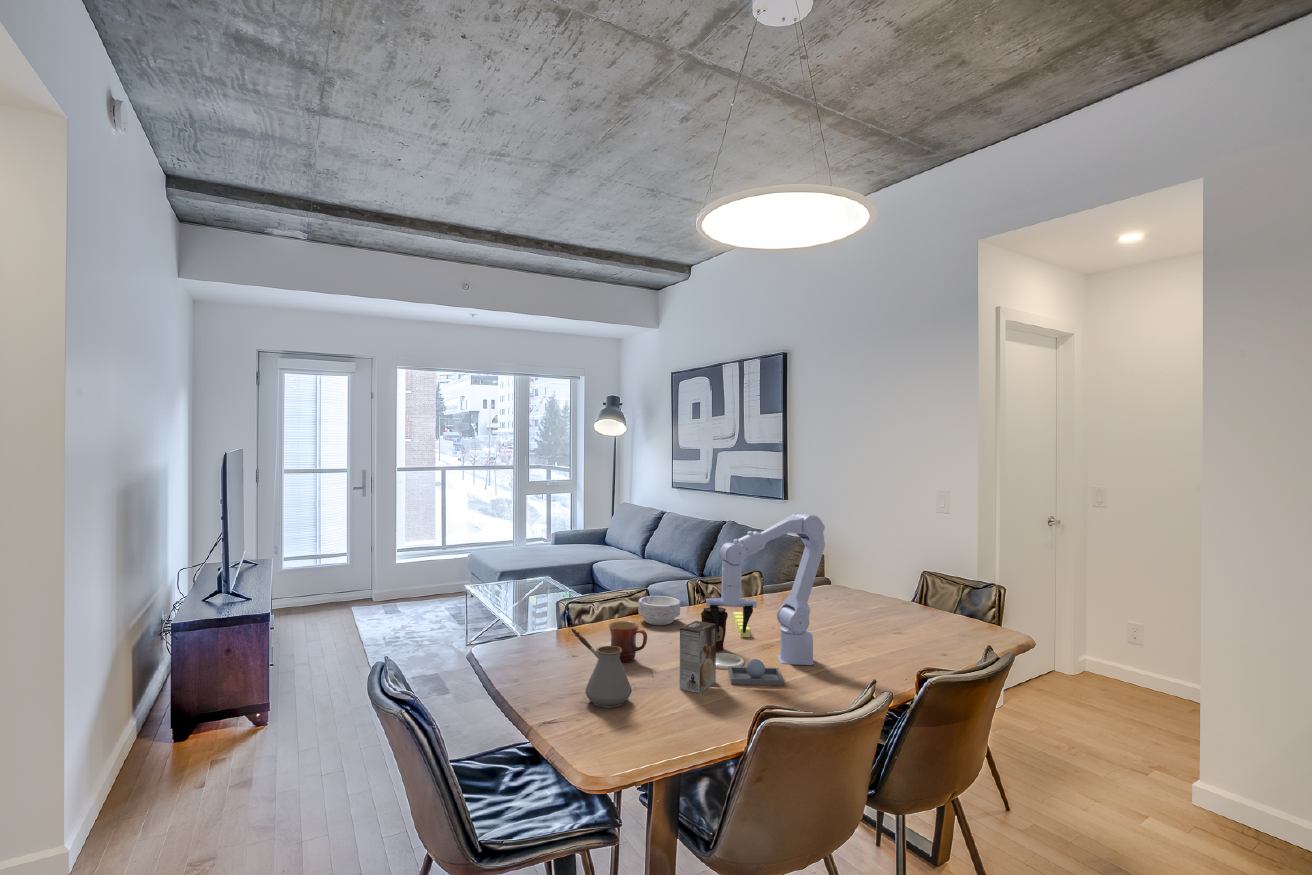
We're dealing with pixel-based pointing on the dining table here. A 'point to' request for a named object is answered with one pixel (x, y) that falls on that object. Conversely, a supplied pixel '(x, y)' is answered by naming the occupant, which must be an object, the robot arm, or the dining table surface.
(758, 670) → the ball
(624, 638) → the mug
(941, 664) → the dining table surface
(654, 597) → the paper bowls
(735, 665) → the saucer
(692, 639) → the coffee box
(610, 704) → the coffee pot
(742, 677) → the tray
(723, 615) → the coffee cup
